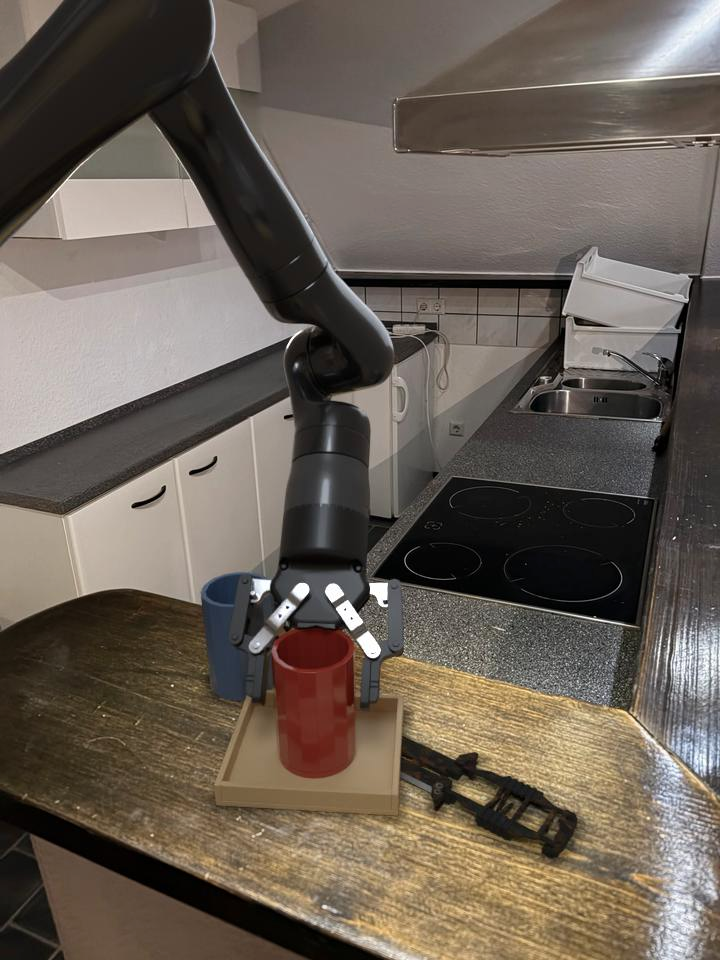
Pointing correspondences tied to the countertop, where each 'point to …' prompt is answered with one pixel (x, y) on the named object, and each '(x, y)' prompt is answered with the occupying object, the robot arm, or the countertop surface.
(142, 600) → the countertop surface
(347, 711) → the red spoon cup
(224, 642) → the blue spoon cup
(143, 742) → the countertop surface
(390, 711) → the tray
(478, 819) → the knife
